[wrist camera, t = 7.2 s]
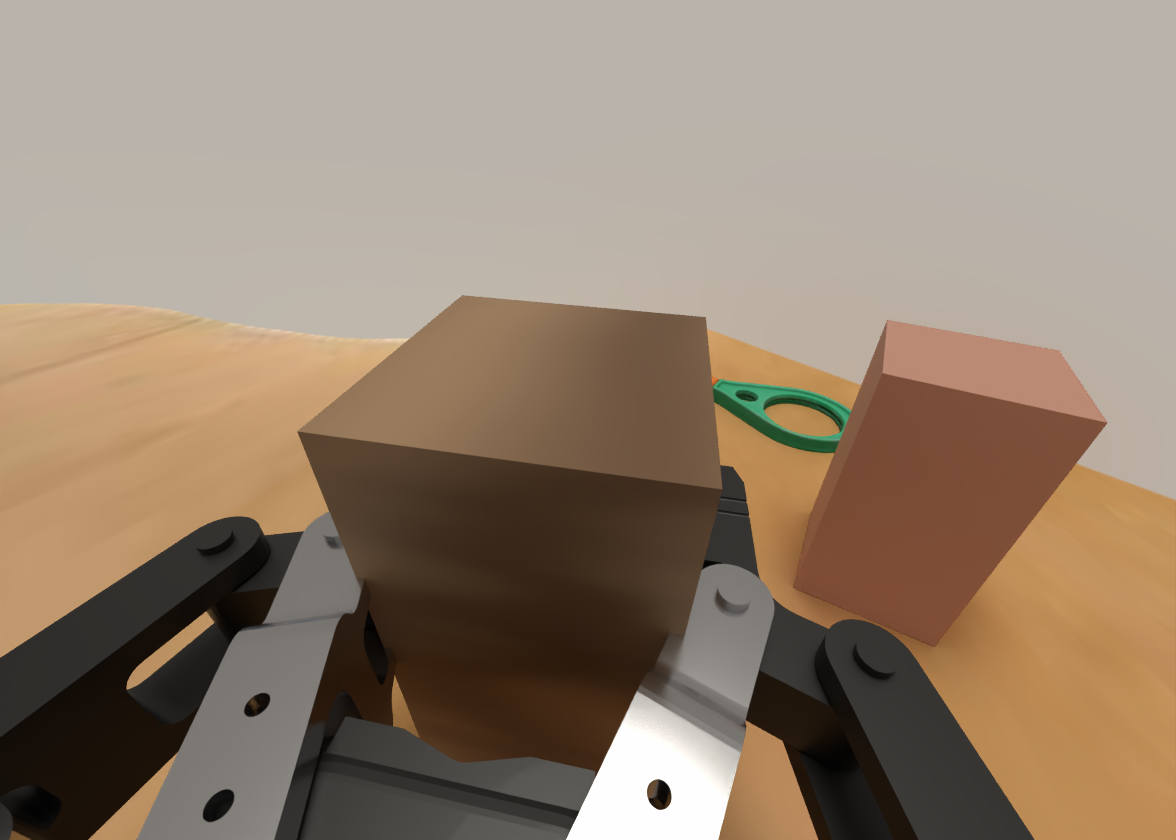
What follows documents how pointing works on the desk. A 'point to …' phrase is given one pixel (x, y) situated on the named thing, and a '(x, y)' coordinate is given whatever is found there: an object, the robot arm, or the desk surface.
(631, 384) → the walnut block
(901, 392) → the brick-red block
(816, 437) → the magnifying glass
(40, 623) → the desk surface
